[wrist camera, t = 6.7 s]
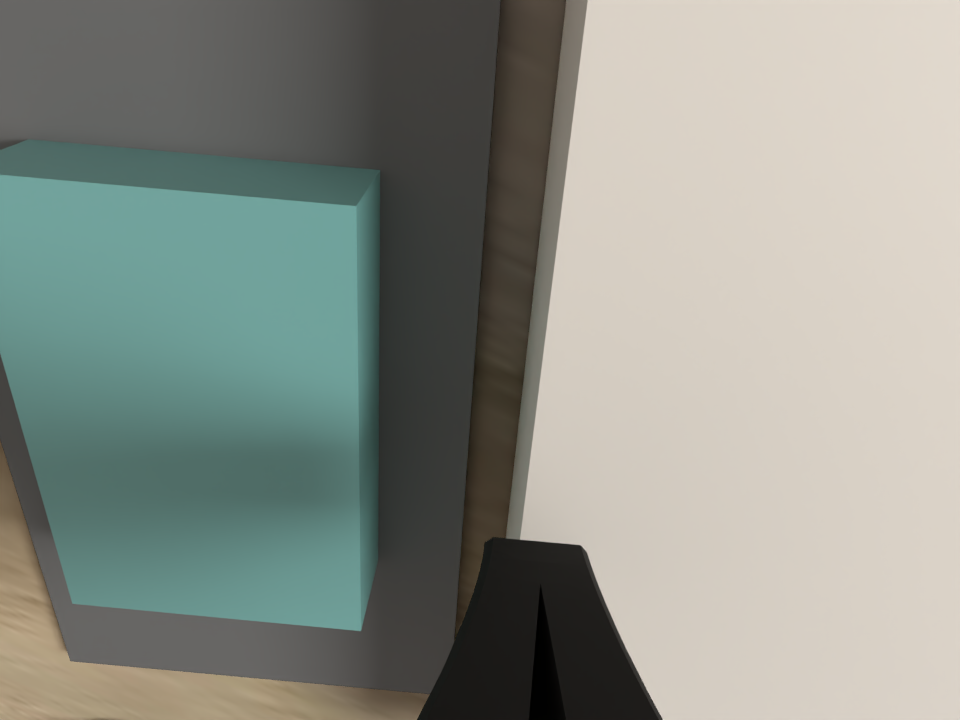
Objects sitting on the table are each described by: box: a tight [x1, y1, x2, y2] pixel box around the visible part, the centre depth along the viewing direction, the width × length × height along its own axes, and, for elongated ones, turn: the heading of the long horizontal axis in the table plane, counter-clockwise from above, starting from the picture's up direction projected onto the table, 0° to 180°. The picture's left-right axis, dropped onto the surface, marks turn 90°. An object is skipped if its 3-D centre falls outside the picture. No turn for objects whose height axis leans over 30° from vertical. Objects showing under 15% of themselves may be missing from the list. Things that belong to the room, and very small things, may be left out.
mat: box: [0, 0, 501, 694], centre depth 15 cm, size 18×10×1 cm, turn 176°
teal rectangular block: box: [0, 139, 380, 631], centre depth 14 cm, size 9×6×2 cm, turn 176°
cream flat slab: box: [506, 0, 960, 720], centre depth 13 cm, size 20×14×4 cm
